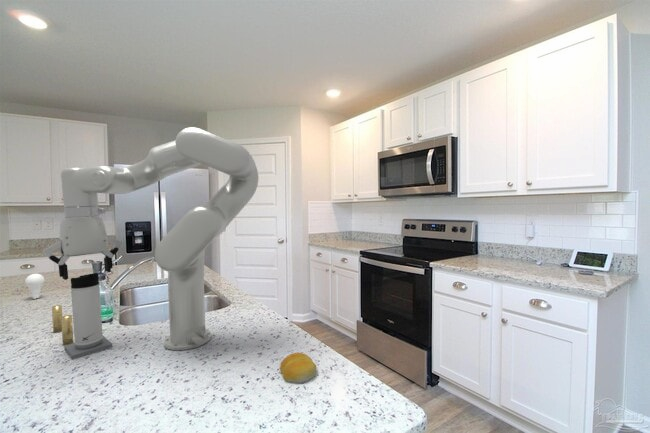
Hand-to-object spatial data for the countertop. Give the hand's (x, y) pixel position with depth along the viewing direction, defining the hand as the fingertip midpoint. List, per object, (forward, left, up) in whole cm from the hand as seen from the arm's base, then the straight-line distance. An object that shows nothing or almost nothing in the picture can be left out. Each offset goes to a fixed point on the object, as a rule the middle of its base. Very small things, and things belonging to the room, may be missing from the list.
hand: (87, 275), depth 87 cm
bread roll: (-54, -28, -21) cm, 64 cm away
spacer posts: (+16, +1, -21) cm, 26 cm away
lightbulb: (+76, +3, -21) cm, 79 cm away
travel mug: (0, 0, -20) cm, 20 cm away
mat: (0, +1, -21) cm, 21 cm away
